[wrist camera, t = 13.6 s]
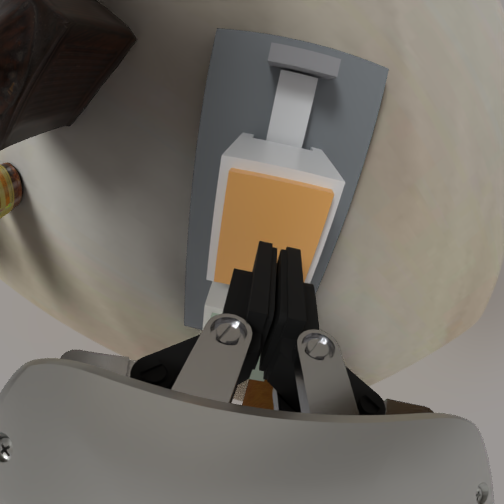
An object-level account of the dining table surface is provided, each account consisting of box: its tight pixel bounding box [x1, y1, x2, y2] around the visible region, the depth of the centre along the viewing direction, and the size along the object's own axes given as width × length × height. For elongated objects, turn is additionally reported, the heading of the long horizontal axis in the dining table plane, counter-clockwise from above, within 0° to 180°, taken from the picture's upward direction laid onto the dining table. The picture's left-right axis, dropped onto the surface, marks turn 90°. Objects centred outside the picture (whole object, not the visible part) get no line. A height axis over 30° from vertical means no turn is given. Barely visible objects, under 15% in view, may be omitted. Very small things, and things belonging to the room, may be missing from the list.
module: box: [206, 133, 345, 285], centre depth 16 cm, size 7×6×8 cm
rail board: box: [184, 28, 389, 381], centre depth 19 cm, size 28×12×10 cm, turn 170°
